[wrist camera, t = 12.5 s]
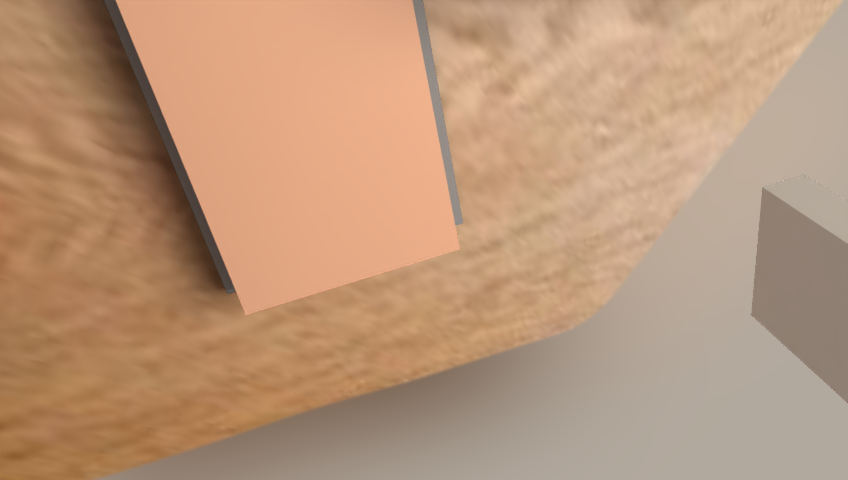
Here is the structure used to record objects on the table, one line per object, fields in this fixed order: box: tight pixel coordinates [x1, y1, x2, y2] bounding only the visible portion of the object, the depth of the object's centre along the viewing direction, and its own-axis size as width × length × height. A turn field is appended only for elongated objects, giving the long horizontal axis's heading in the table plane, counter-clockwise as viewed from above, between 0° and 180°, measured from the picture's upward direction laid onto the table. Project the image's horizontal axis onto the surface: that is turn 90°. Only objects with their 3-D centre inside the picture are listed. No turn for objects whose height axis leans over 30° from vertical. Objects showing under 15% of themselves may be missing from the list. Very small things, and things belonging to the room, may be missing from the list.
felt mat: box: [104, 0, 463, 294], centre depth 29 cm, size 22×12×1 cm, turn 11°
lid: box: [116, 0, 460, 315], centre depth 28 cm, size 10×22×2 cm, turn 11°
